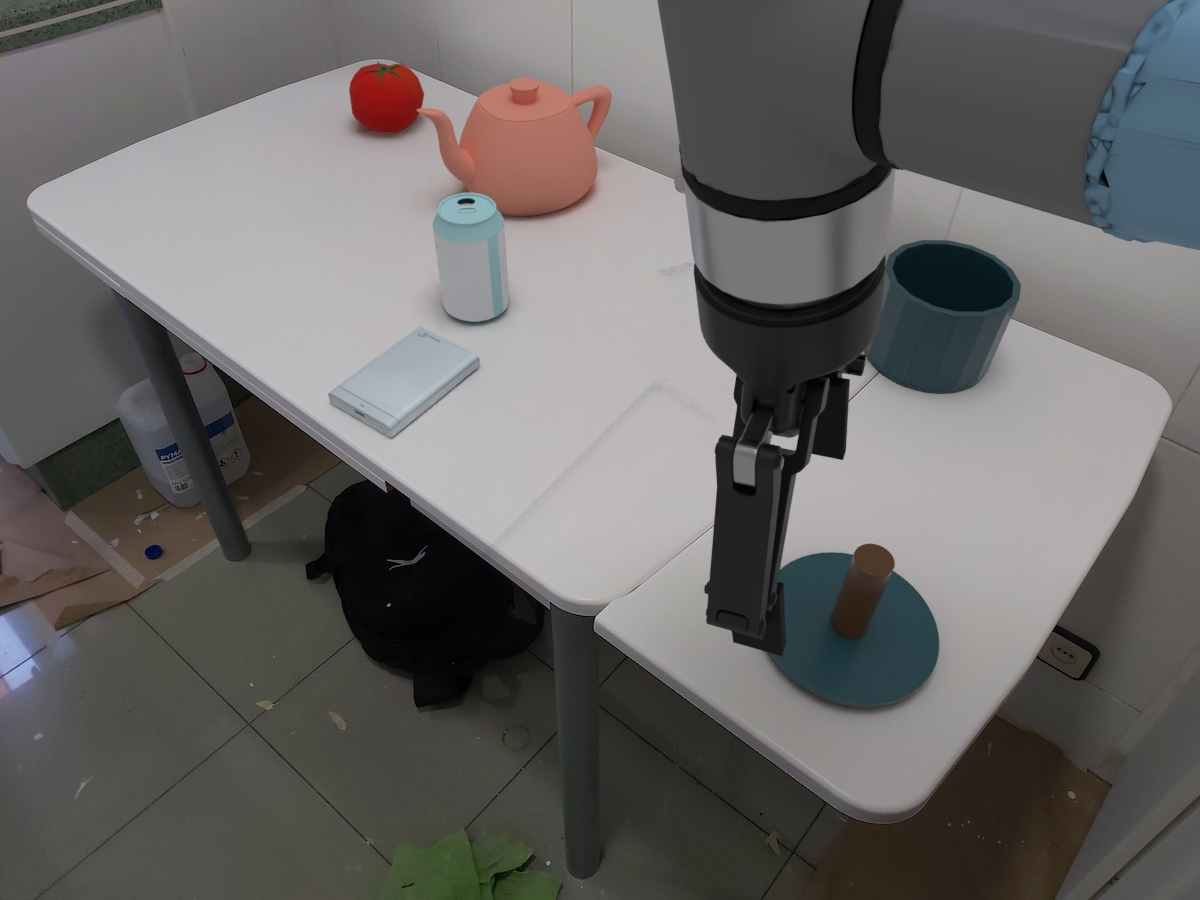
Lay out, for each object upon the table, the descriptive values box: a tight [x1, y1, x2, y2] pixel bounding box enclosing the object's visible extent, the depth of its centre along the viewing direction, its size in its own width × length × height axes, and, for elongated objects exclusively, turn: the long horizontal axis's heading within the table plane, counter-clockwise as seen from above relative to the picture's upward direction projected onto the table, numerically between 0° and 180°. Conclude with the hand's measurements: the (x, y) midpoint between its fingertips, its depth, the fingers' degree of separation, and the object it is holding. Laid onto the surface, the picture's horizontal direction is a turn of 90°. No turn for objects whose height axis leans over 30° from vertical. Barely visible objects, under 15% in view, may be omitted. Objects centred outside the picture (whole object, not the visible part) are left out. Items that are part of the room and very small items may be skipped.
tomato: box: [348, 60, 425, 134], centre depth 120 cm, size 9×10×8 cm
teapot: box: [417, 76, 613, 217], centre depth 107 cm, size 25×17×13 cm
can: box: [432, 192, 510, 323], centre depth 91 cm, size 7×7×12 cm
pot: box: [863, 239, 1022, 394], centre depth 87 cm, size 12×12×10 cm
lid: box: [769, 543, 940, 708], centre depth 64 cm, size 13×13×9 cm
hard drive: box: [327, 326, 481, 438], centre depth 85 cm, size 2×8×12 cm
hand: (793, 540), depth 51 cm, fingers open, 13 cm apart
